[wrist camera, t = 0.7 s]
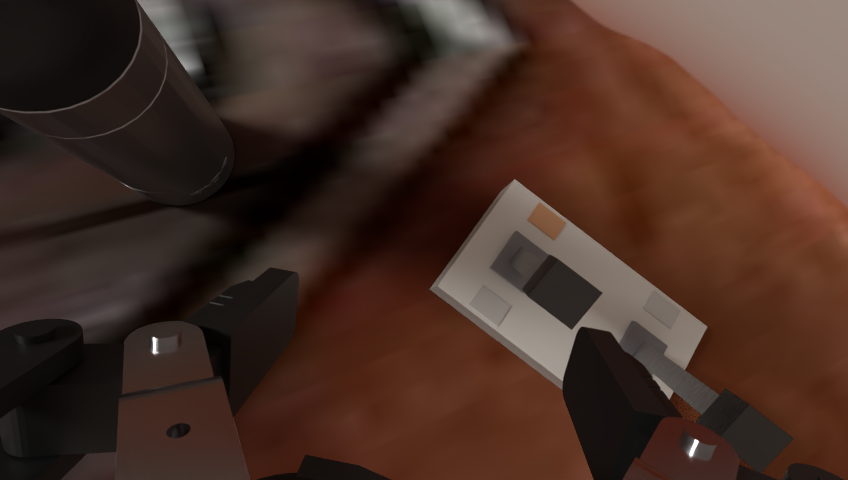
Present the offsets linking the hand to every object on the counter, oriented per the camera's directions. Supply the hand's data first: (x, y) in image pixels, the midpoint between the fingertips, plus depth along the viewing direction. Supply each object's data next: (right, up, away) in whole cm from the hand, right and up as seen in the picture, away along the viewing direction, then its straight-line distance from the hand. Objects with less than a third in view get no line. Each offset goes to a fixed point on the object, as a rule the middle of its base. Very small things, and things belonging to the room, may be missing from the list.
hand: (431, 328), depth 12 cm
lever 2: (+19, -7, +24) cm, 31 cm away
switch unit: (+13, -4, +29) cm, 32 cm away
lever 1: (+8, +1, +24) cm, 25 cm away
